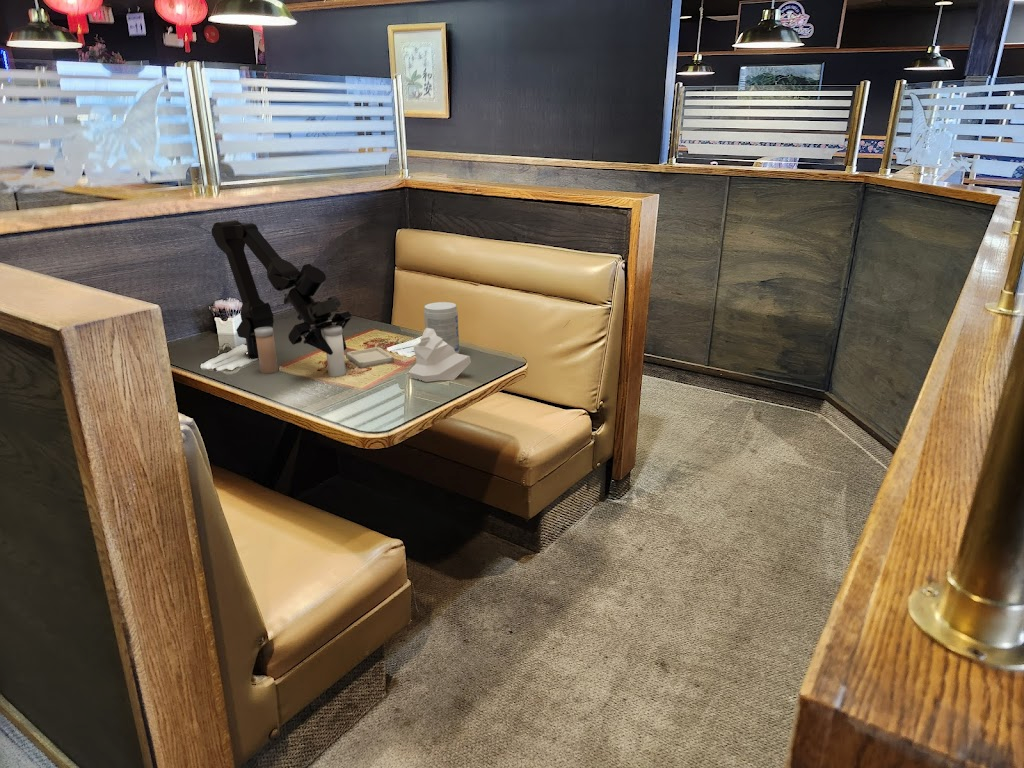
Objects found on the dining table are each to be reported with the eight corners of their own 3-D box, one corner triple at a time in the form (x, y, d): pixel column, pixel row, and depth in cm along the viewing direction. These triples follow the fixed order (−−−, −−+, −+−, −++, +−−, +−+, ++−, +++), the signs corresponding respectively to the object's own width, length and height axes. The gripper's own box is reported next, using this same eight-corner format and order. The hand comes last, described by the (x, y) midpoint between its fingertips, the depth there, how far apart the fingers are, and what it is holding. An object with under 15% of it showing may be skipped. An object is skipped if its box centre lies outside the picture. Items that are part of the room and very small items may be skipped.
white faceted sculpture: (439, 393, 186) (422, 344, 180) (405, 383, 196) (388, 337, 190) (473, 370, 193) (458, 322, 186) (439, 362, 203) (423, 317, 197)
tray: (346, 357, 210) (345, 352, 209) (378, 351, 215) (378, 346, 214) (360, 368, 200) (360, 363, 200) (394, 362, 205) (393, 357, 205)
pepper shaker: (258, 370, 200) (252, 328, 196) (275, 367, 202) (270, 325, 198) (262, 374, 196) (256, 332, 192) (280, 371, 198) (274, 329, 194)
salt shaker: (326, 373, 197) (321, 327, 192) (343, 369, 199) (338, 324, 195) (331, 377, 193) (326, 331, 189) (348, 374, 195) (344, 328, 191)
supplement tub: (465, 355, 210) (463, 306, 205) (436, 361, 205) (433, 311, 200) (449, 347, 218) (447, 300, 213) (421, 353, 213) (418, 304, 208)
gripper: (290, 294, 183) (325, 343, 181) (344, 281, 197) (377, 326, 195) (273, 320, 190) (307, 367, 188) (327, 306, 204) (358, 349, 202)
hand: (338, 351), depth 193 cm, fingers closed on salt shaker, 5 cm apart
